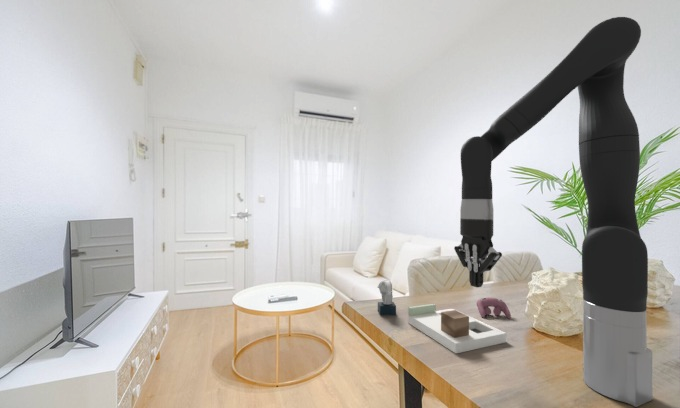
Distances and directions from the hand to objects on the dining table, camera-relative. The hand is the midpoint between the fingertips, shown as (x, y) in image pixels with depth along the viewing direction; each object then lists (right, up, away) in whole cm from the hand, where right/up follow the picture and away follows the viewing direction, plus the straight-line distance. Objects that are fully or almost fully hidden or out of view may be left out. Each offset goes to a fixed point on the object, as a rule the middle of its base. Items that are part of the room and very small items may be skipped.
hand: (476, 286), depth 70 cm
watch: (-18, -18, +27) cm, 37 cm away
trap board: (-1, -17, +12) cm, 21 cm away
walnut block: (-3, -15, +6) cm, 16 cm away
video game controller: (+19, -18, +26) cm, 37 cm away
